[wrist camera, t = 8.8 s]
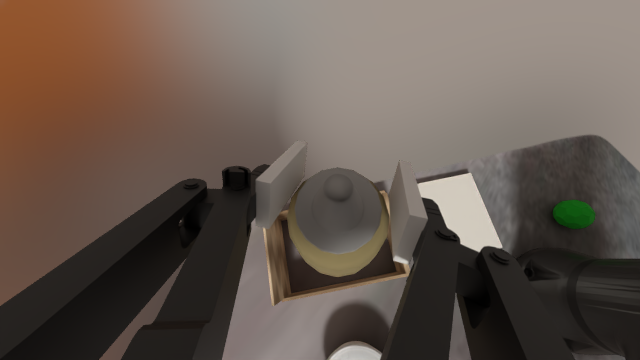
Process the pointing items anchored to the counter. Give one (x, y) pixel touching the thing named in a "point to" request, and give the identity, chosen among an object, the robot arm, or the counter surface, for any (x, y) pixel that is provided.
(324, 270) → the squeeze bottle
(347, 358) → the ramekin
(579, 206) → the polyhedron
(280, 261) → the wooden box
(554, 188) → the counter surface
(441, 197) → the cutting board
